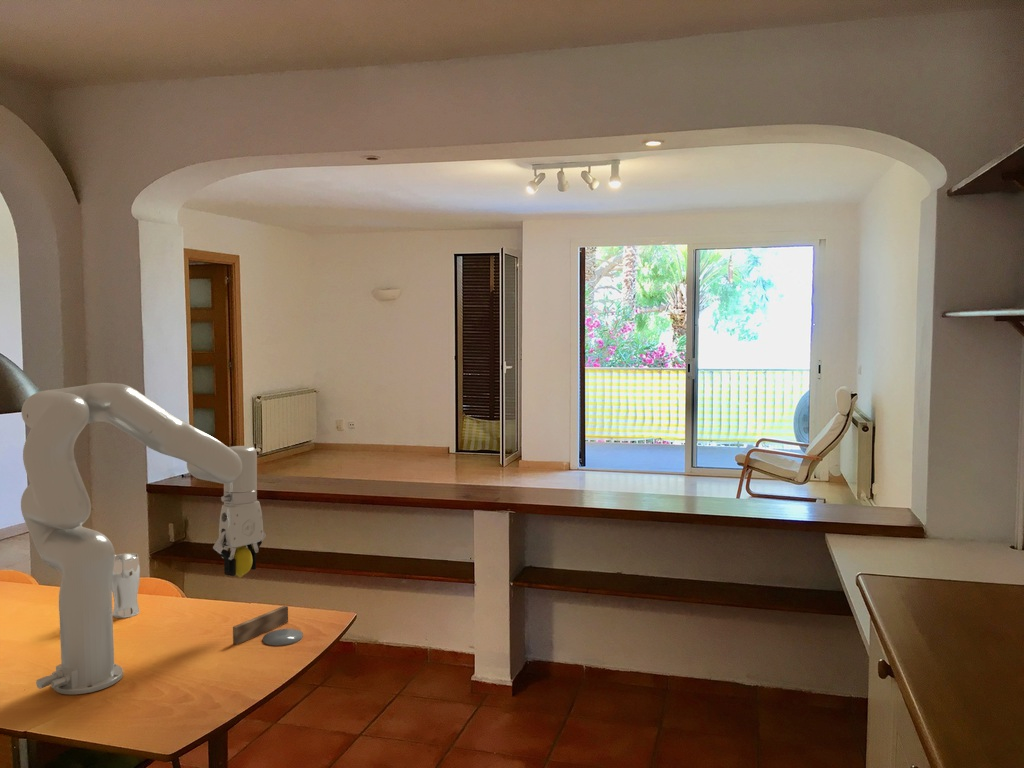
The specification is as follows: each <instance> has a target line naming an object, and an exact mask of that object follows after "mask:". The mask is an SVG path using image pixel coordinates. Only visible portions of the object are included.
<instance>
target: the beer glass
mask: <svg viewBox="0 0 1024 768" xmlns="http://www.w3.org/2000/svg"><path fill="white" fill-rule="evenodd" d="M140 564H141V563H140V558H139V554H138V553H135V552H134V553H133V552H124V553H119V554H115V561H114V568H113V574H112V595H113V596H112V598H113V609H112V614H113V618H116V619H128V618H132V617H135V616H137V615H139V613H140V607H139V604H138V593H139V588H140V587H139V585H140V577H141V567H140Z"/></svg>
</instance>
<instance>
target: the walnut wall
mask: <svg viewBox="0 0 1024 768" xmlns="http://www.w3.org/2000/svg"><path fill="white" fill-rule="evenodd" d="M286 622H288V623H289V606H288V605H282V606H280V607H278V608H275V609H274V610H270V611H268V612H266V613H263V614H261V615H259V616H256V617H253V618H251V619H248V620H247V621H244V622H240V623H239V624H236V625H234V626H233V627H232V643H233V645H236V646H237V645H239V644H242V643H244V642H247V641H249V640H251V639H253V638H255V637H258V636H260V635H263V634H264V633H265V634H266V633H268V632H269V631H273V630H274V629H277V628H278V626H279V627H280V625H281V626H283V625H285V624H287V623H286ZM284 623H285V624H284ZM282 624H283V625H282Z"/></svg>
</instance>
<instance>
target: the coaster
mask: <svg viewBox="0 0 1024 768" xmlns="http://www.w3.org/2000/svg"><path fill="white" fill-rule="evenodd" d="M303 634H304V633H303V632H302V631H301V630H299V629H294V628H280V629H276V630H271V631H270V632H269V631H268V632H266V633H265V634H264V635H263V637H262V642H263V643H264V644H265V645H268V646H273V647H275V646H276V647H279V646H280V647H281V646H282V647H283V646H287V645H293V644H295V643H298V642H299V641H301V640H302V639H303Z"/></svg>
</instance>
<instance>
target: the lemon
mask: <svg viewBox="0 0 1024 768" xmlns="http://www.w3.org/2000/svg"><path fill="white" fill-rule="evenodd" d="M233 559H235V560H236V575H235V576H237V577H238V578H239V579H241V578H242V577H243V576H244V575H246V574H248V573H249V572H250V570H252V569H251V567H252V562H253V559H252V554H251V552H250V550H249V549H248V548H247V547H246V546H242V547H238V548H236V550H235V554H234V558H233Z"/></svg>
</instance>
